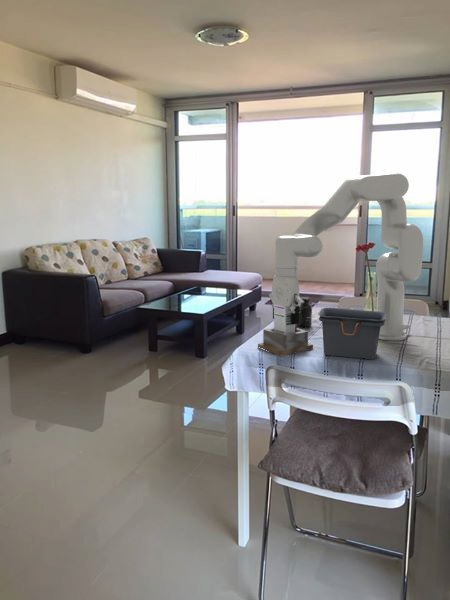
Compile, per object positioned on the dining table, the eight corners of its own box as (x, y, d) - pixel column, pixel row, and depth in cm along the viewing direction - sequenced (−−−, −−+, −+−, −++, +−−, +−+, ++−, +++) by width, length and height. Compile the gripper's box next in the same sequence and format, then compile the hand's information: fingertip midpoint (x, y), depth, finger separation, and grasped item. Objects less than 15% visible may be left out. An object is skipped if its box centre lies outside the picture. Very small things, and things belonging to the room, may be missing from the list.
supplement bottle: (311, 329, 200) (312, 299, 198) (294, 328, 202) (294, 299, 199) (311, 324, 207) (312, 296, 205) (295, 324, 208) (295, 296, 206)
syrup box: (285, 347, 171) (285, 306, 168) (273, 343, 175) (273, 303, 173) (297, 344, 174) (297, 303, 171) (285, 340, 179) (285, 301, 176)
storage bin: (384, 351, 170) (386, 310, 167) (383, 365, 156) (385, 321, 153) (321, 346, 177) (322, 307, 174) (314, 359, 162) (315, 316, 160)
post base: (290, 341, 184) (290, 323, 182) (313, 348, 174) (313, 330, 172) (257, 347, 176) (257, 330, 174) (279, 356, 166) (279, 337, 165)
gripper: (262, 270, 175) (261, 318, 178) (294, 276, 160) (293, 327, 164) (278, 268, 179) (278, 315, 182) (311, 274, 164) (310, 324, 168)
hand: (285, 321), depth 173 cm, fingers open, 9 cm apart
